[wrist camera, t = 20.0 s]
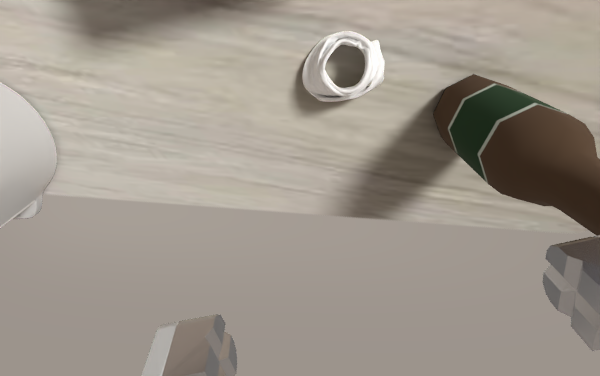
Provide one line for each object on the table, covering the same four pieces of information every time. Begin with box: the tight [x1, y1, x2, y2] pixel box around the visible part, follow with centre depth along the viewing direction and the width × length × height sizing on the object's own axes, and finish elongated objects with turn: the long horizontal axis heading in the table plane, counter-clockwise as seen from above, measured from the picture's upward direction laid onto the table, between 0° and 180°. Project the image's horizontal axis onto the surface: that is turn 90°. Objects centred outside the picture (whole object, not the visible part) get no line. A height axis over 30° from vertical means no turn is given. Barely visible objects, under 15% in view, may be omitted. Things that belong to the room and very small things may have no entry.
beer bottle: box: [433, 74, 600, 236], centre depth 29 cm, size 8×8×24 cm
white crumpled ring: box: [302, 31, 385, 102], centre depth 35 cm, size 8×7×5 cm
